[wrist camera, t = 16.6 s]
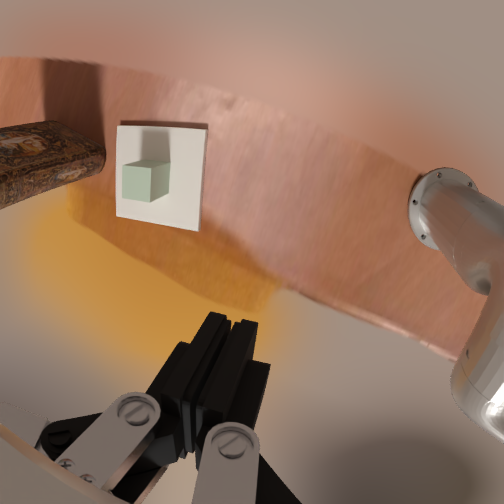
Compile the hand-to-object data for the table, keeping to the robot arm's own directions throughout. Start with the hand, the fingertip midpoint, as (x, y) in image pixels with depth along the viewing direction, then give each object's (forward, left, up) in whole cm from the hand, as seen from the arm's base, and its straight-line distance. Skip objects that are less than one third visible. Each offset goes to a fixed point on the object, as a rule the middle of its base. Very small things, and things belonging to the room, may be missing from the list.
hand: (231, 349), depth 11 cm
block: (+23, +3, -36) cm, 43 cm away
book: (+42, -1, -37) cm, 56 cm away
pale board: (+23, +3, -37) cm, 44 cm away
